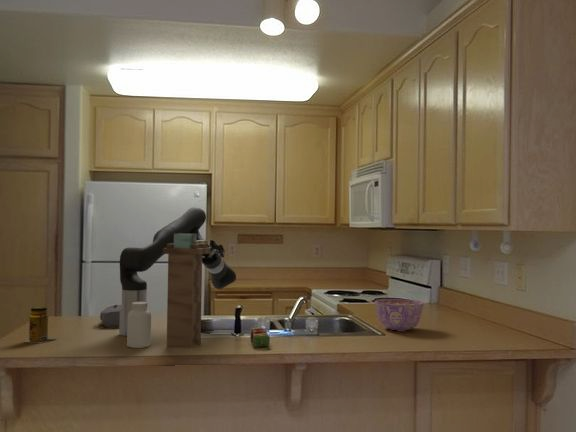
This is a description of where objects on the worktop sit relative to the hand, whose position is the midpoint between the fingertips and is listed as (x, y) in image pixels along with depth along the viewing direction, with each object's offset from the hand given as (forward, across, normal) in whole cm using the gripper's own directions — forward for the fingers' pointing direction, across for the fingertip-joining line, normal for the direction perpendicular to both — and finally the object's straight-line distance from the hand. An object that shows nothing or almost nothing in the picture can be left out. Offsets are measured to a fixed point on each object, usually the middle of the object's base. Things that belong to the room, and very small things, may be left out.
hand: (200, 241), depth 206 cm
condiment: (0, -52, +42) cm, 67 cm away
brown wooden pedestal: (-8, 0, +37) cm, 38 cm away
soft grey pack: (-34, -43, +22) cm, 59 cm away
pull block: (+5, 0, +5) cm, 7 cm away
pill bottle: (-1, -14, +41) cm, 44 cm away
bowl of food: (-50, +74, +13) cm, 90 cm away
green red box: (-14, +25, +34) cm, 45 cm away
